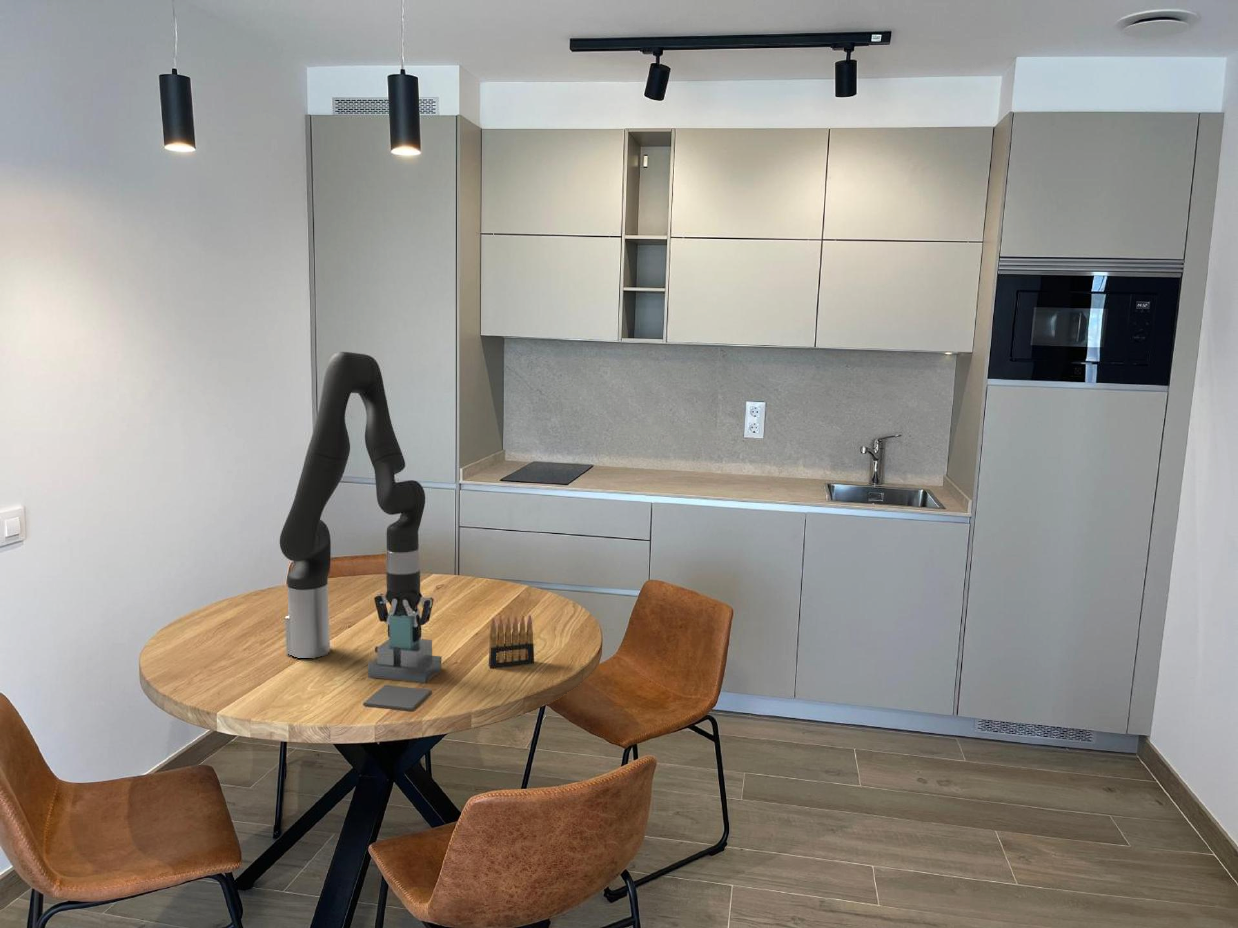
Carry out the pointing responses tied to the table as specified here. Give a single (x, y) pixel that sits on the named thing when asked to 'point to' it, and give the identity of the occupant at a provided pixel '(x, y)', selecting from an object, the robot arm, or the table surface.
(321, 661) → the table surface
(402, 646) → the sleeve
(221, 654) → the table surface
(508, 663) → the ammunition clip
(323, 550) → the robot arm
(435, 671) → the vise
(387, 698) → the mat
